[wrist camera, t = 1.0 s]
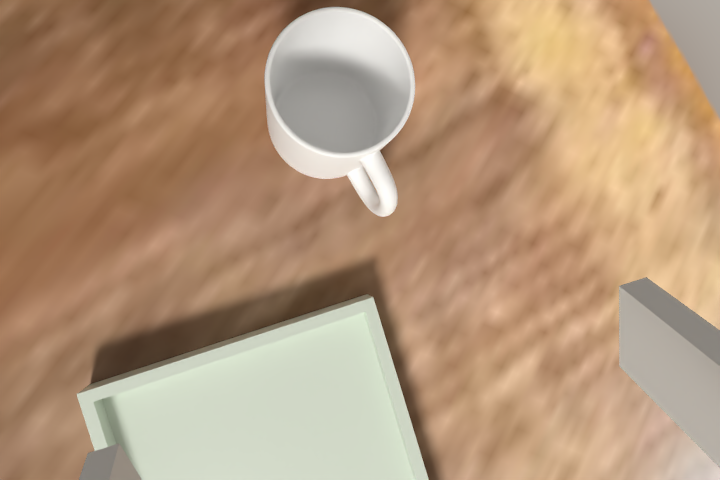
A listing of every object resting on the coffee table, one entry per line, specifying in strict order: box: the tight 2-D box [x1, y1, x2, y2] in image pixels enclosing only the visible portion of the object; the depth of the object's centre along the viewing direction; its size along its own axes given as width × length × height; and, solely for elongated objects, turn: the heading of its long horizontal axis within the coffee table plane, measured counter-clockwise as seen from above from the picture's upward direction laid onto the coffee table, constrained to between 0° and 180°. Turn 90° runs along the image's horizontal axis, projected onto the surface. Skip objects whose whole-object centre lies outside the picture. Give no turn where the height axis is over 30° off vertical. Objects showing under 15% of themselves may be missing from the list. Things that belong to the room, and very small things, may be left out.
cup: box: [265, 7, 415, 217], centre depth 34 cm, size 8×12×10 cm
